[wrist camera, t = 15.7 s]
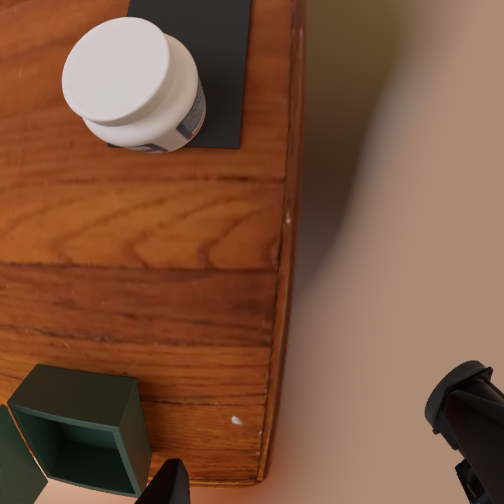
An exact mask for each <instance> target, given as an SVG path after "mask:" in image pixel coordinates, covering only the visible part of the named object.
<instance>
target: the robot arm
mask: <svg viewBox="0 0 504 504" xmlns="http://www.w3.org/2000/svg"><path fill="white" fill-rule="evenodd" d="M492 372H493V369H492V368H491V367H488V368H486V369H484V370H482V371H480V372H478V373H476V374H474V375H472V376H470V377H468V378H466V379H463V380H461V381H459V382H457V383H455V384H453V385H450V386H448V387H447V388H446V389H445V391H444V394H443V398H442V402H441V405H440V409H439V412H438V415H437V419H436V422H435V425H434V428H433V433H434V434H435V435H436V434H439V433H441V434H442V436H443V437H444V438H445V439H446V441H447V442H448V443H449V445H450V446H451V447H452V449H454V450H459V452H460V453H461V454H462V456H463V457H464V458H465V459H464V460H463V461H462V462H461V463H459V464H458V465H457V466H456V467H455V470H456V472H457V476H458V478H459V480H460V482H461V484H462V486H463V489H464V491H465V493H466V495H467V497H468V500H469V503H470V504H504V394H503V393H502V392H501V391H500V390H499V389H498V388H497V387H495V386H494V385H493V384H492V383H491V382H490V379H491V376H492ZM134 504H190V490H189V476H188V473H187V471H186V469H185V467H184V465H183V462H182V461H181V459H179V458H174V459H167V460H166V461H165V463H164V464H163V465H162V467H161V468H160V469H159V471H158V472H157V474H156V475H155V476H154V478H153V479H152V480H151V482H150V483H149V485H148V486H147V487H146V489H145V490H144V491H143V493H142V494H141V495H140V497H139V498H138V499H137V501H136V502H135V503H134Z"/></svg>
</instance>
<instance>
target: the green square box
mask: <svg viewBox="0 0 504 504" xmlns="http://www.w3.org/2000/svg"><path fill="white" fill-rule="evenodd" d="M7 404H8V406H9V408H10V410H11V413H12V415H13V417H14V419H15V421H16V423H17V425H18V427H19V429H20V431H21V433H22V435H23V437H24V438H25V440H26V442H27V444H28V446H29V448H30V449H31V451H32V453H33V455H34V456H35V458H36V460H37V461H38V463H39V465H40V466H41V468H42V470H43V471H44V473H45V474H46V476H47V477H48V478H51V479H54V480H58V481H61V482H64V483H68V484H72V485H75V486H79V487H83V488H87V489H91V490H96V491H101V492H106V493H111V494H116V495H122V496H128V497H134V498H139V497H140V495H141V494H142V493H143V491H144V490H145V489H146V486H147V480H148V475H149V469H150V464H151V458H152V450H151V446H150V442H149V438H148V434H147V429H146V425H145V421H144V416H143V412H142V407H141V402H140V397H139V392H138V387H137V381H136V378H132V377H122V376H112V375H104V374H96V373H88V372H81V371H74V370H68V369H62V368H56V367H50V366H45V365H39V364H37V365H36V366H35V367H34V368H33V370H32V371H31V372H30V373H29V374H28V376H27V377H26V378H25V379H24V381H23V382H22V383H21V385H20V386H19V387H18V388H17V390H16V391H15V392H14V393H13V395H12V396H11V397H10V399H9V400H8V401H7Z"/></svg>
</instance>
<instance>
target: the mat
mask: <svg viewBox="0 0 504 504" xmlns="http://www.w3.org/2000/svg"><path fill="white" fill-rule="evenodd" d="M250 5H251V0H131V1H130V5H129V9H128V13H127V17H135V18H141V19H144V20H147V21H149V22H151V23H153V24H154V25H156V26H157V27H158V28H159V29H160V30H161V31H162V32H163V33H164V34H167V35H169V36H171V37H173V38H175V39H177V40H178V41H179V42H180V43H182V44H183V45H184V46H185V47H186V49H187V50H188V51H189V52H190V54H191V56H192V58H193V60H194V62H195V64H196V67H197V71H198V75H199V79H200V82H201V86H202V89H203V93H204V96H205V103H206V112H205V118H204V121H203V123H202V126H201V128H200V129H199V131H198V132H197V134H196V135H195V136H194V137H193V138H192V139H191V140H190V141H189V142H188V143H186V144H185V145H184V146H182V147H202V148H225V149H239V142H240V127H241V114H242V100H243V87H244V75H245V62H246V50H247V39H248V27H249V16H250ZM108 147H119V146H115V145H113V144H110V143H108Z"/></svg>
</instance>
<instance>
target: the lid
mask: <svg viewBox="0 0 504 504" xmlns="http://www.w3.org/2000/svg"><path fill="white" fill-rule="evenodd" d="M47 483H48V481H47V479H46V477H45V476H44V474H43V473H42V471H41V469H40V468H39V466H38V465H37V463H36V461H35V460H34V458H33V456H32V455H31V453H30V451H29V449H28V448H27V446H26V444H25V442H24V440H23V439H22V437H21V435H20V433H19V431H18V429H17V427H16V425H15V423H14V421H13V419H12V417H11V415H10V413H9V411H8V408H7V407H6V406H5V405H3V404H1V405H0V504H34V502H35V500H36V499H37V498H38V496H39V495H40V493H41V492H42V490H43V489H44V487H45V486H46V484H47Z"/></svg>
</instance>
